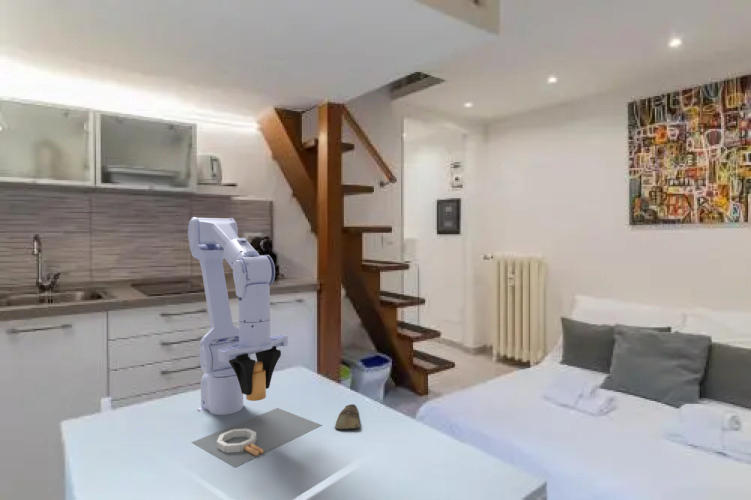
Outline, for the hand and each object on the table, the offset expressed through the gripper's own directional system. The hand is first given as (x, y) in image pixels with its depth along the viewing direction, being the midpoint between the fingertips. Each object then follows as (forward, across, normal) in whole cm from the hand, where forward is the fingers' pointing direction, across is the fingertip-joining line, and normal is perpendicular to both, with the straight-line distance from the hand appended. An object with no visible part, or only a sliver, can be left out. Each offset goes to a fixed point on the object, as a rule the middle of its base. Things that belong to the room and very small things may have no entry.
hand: (255, 390), depth 82 cm
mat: (+10, +1, 0) cm, 10 cm away
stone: (+10, +17, -9) cm, 22 cm away
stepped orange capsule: (+1, 0, 0) cm, 1 cm away
